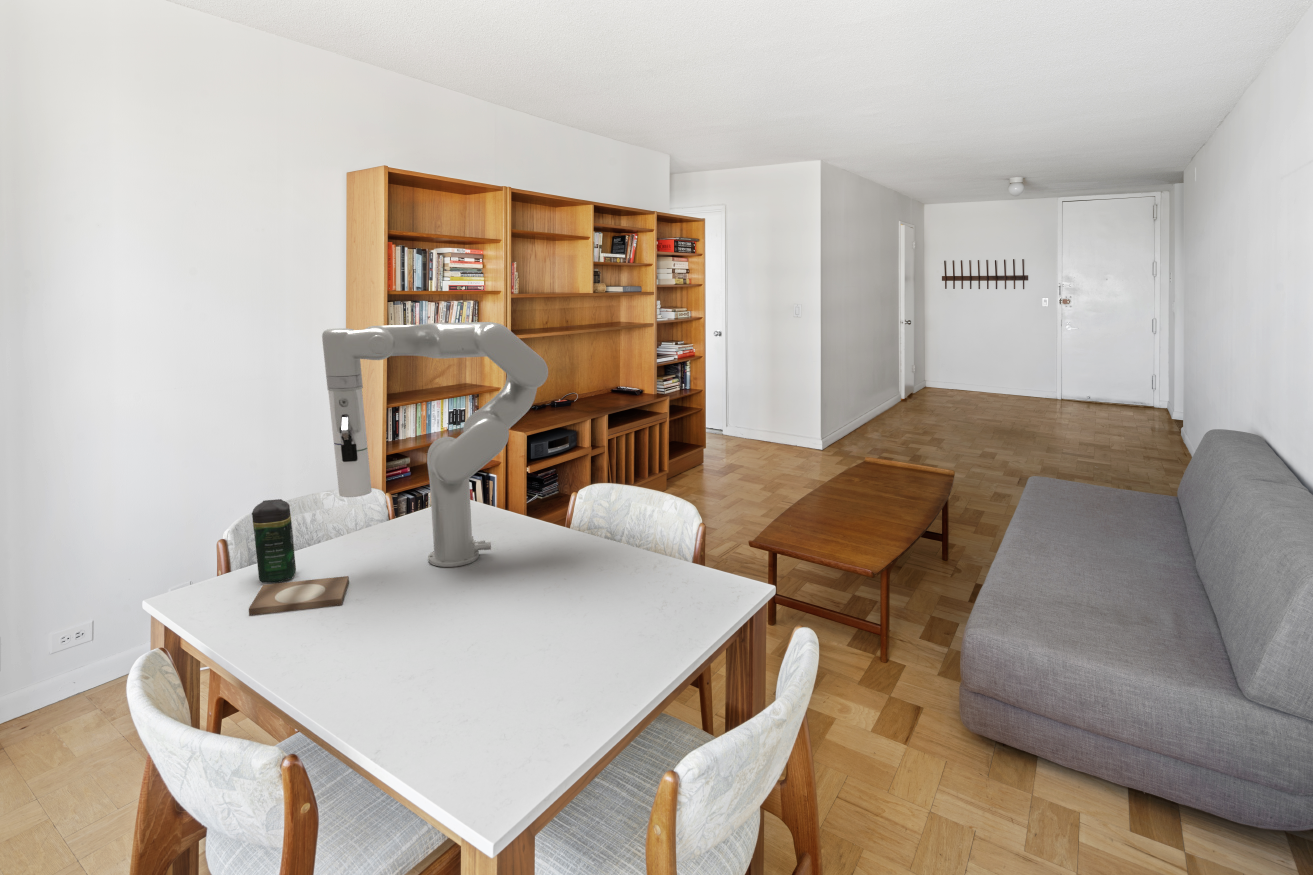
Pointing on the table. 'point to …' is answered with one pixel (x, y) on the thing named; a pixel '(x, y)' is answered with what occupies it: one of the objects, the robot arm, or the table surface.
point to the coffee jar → (274, 541)
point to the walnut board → (299, 595)
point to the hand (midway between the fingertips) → (352, 456)
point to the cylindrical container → (352, 473)
